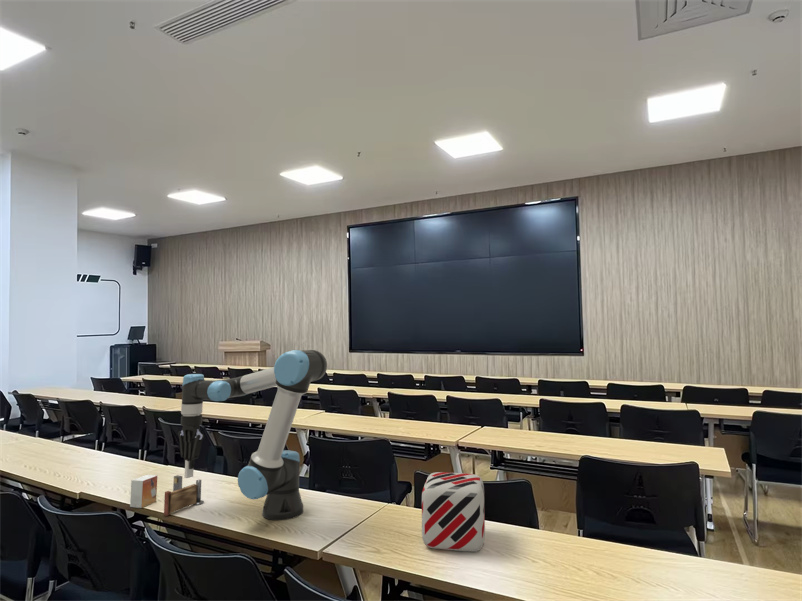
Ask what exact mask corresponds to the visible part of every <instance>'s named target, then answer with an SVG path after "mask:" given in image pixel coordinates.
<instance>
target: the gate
mask: <svg viewBox="0 0 802 601" xmlns="http://www.w3.org/2000/svg"><path fill="white" fill-rule="evenodd" d="M196 496H197V484H196V483H193V484H191V485H190V484H189V485H187V486H185V487H182V488H181V489H178V490H175V491H173V490H172V491H170V490H166V491H164V504H163V505H164V506H163V516H170V515H171V514H172V513H175V512H177V511H180V510H182V509H185V508H188V507H191V506H194V505H193V504H195V503H196Z"/></svg>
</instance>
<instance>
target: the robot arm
mask: <svg viewBox="0 0 802 601" xmlns="http://www.w3.org/2000/svg"><path fill="white" fill-rule="evenodd" d="M327 369H328V361H327V357H325V355H324V354H323V353H322V352H320V351H319V350H315V349H308V350H306V349H304V350H299V349H295V350H294V349H293V350H290V351H285V352H284V353H282V354H280V355H279V357H277V359H276V361H275V363H274V366H273V367H269V368H266V369H263V370H259V371H256V372H252V373H249V374H245V375H241V376H237V377H234V378H225V379H224V378H223V379H216V380H213V379H212V380H209V379H207V380H206V379H205V376H204V374H202V373H189V374H186V375H184V376H183V377H182V384H181V385H182V386H181V387H182V388H181V405H180V406H181V408H180V409H181V410H180V414H181V416H180V425H181V426H182V428H181V431H180V430H179V431H178V432H177V436H178V439H179V440H178V441H179V450H180V457H181V458H183V460H184V477H183V478H184V479H190V478H194V469H195V460H196V459H199V458H200V454H201V449H202V444H203V439H204V438H205V433H201V428H200V426H201V425H202V424H203V414H202V413H203V408H204V407H203V402H204V401H212V402H213V401H214V402H223V401H226V400H227V399H230V398H237V397H244V396H246V395H249V394H252V393H256V392H259V391H264V390H267V389H271V388H274V387H276V388H277V391H276V394H275V397H274V400H273V402H272V405H271V409H270V411H269V415H268V418H267V422H266V425H265V427H264V431H263V433H262V437H261V439H260V443H259V446H258V449H257V450H256V451H255V452H252V453H251V456H250V459H249V462H248V464H247V465H246V466H244V467H243V468H242V469H240V471H239V473H238V475H237V484H238V488H239V490H240V492H241V493H242V495H243V496H244V497H246V498H247V499H250V500H258V499H262V498H264V497H266V498H265V500H264V503H263V507H262V517H263V518H265V519H267V520H270V521H273V520H274V521H286V520H291V519H294V518H297V517H299V516H301V515H302V514H303V513H304V504H303V500H302V497H301V493H300V467H301V466H300V463H301V460H300V453H299V452H297V451H295V450H286V449H285V447H286V443H287V440H288V438H289V435H290V432H291V428H292V425H293V424H294V419H295V417H296V413H297V410H298V406H299V404H300V401H301V399H302V396H303V395H305V394H307V393H308V391H309V389H310V385H311V382H316V381H318V380H320V379H322V378H323V377H324V375H326V372H327V371H328V370H327Z"/></svg>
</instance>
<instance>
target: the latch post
mask: <svg viewBox="0 0 802 601" xmlns="http://www.w3.org/2000/svg"><path fill="white" fill-rule="evenodd" d="M172 487H173V488H172V491H175V490H178V489H181V488H183V475H179V474H177V475H173V486H172Z"/></svg>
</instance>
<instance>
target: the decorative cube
mask: <svg viewBox="0 0 802 601" xmlns="http://www.w3.org/2000/svg"><path fill="white" fill-rule="evenodd" d="M484 485H485V484H484V482H483V479H482V477H481V476H479V475H477V474H473V473H462V472H461V473H460V472H445V471H440V472H439V471H438V472H432V473H430V474H428V476H427V479H426V481H425V482H424V486H423V488H422V491H421V536H422V541H423V543H424V544H425V546H427V547H428V548H431V549H435V550H446V551H460V552H477V551H480V550H481V549H482V548H483V546H484V544H485V537H486V536H485V535H486V527H485V525H486V524H485V522H486V521H485V520H486V518H485V516H486V515H485V511H486V510H485V486H484Z"/></svg>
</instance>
